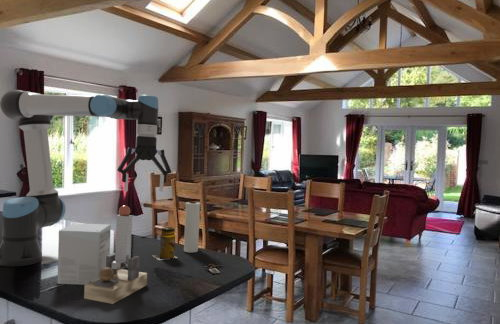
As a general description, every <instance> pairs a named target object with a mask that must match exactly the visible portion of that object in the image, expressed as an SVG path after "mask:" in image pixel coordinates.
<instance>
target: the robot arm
mask: <svg viewBox="0 0 500 324" xmlns="http://www.w3.org/2000/svg"><path fill="white" fill-rule="evenodd" d="M0 109H1V112H2V113H3V115H5V117H7V118H8V119H11V120H13V121H17V122H18V128H19V129H20V130H21V131H23V138H24V146H25V156H26V165H27V173H28V174H27V175H28V183H29V184H28V185H29V191H28V192H27V194H26V196H20V197H14V198H9V199H7V200H6V201H5V202H4V203H3V205H2V211H1V216H2V219H1V222H2V224H1V225H2V226H1V228H2V229H1V231H2V233H1V236H2V237H1V243H0V266H1V267H10V268H11V267H12V268H13V267H25V266H30V265H31V266H32V265H34V264H37V263H38V264H39V263H40V262H42V260H43V253H42V250H41V247H40V244H39V241H38V232H39V231H38V229H43V228H46V227H52V226H53V225H55V224H57V223H59V222H61V220H62V219H63V218H64V216H65V213H66V204H65V202H64V200H63V199H62V198H61V197H60V196H59V191H58V190H57V189H55V188H54V181H53V172H52V171H53V170H52V162H51V153H50V152H51V150H50V142H49V133H48V129H49V128H50V127H51V126H52V122H51V121H53V119H54V117H55V116H62V117H63V116H65V117H95V118H96V117H97V118H99V117H100V118H101V117H102V118H110V119H115V120H134V121H136V123H137V125H136V135H137V136H136V141H135V143H136V145H135V148H133V147H127V148H126V154H125V155H124V157H123V159H122V161H121V163H120V164H119V166H118V168H117V172H119V173H121V175H122V176H121V182H122V183H124V188H123V189H124V190H123V191H124V192H128V191H129V189H128V188H129V173H128V172H129V171H130V170H131V169H132V168H133V167H134V165H136V164H137V162H138V161H140V160H141V161H152V162H153V164H155V166H156V167H157V168H158V170H159V171H160V172H161V174H159V192H164V184H165V183H167V175H168V174H172V170H171V167H170V165H169V163H168V160H167V157H166V156H165V149H162V148H161V149H157V137H156V136H157V135H158V118H159V98H158V97H157V96H155V95H149V94H140V95H139V96H138V99H137V100H135V99H134V100H133V99H123V98H119V97H115V96H111V95H108V94H96V95H94V94H93V95H90V94H89V95H88V94H87V95H85V94H83V95H82V94H41V93H38V92H31V91H29V90H28V91H26V90H20V89H11V90H9V91H6V92H5V93H4V94H2V97H1V98H0ZM134 153H135V155H136V156H135V157H134V158H133V159H131V161H130V162H129V163H128V161H129V159H130V158H131V156H132V154H134ZM157 154H158V156H159V157H160V159H161V161H162V163H160V161H159V160H158V158H157V157H156V155H157ZM127 163H128V164H127ZM126 164H127V165H126ZM162 164H163V165H162ZM163 166H164V167H163ZM124 167H125V168H124Z"/></svg>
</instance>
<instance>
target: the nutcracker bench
mask: <svg viewBox="0 0 500 324" xmlns="http://www.w3.org/2000/svg"><path fill="white" fill-rule="evenodd" d="M113 261H115V252H113V253H111V254H110V255H108V256H106V267H105V268H103V269H102V270H101V271H100V279H97V280H95V281H93V282H91V283H88V284H86V285H83V286H84V293H83V298H84V300H91V301H95V302H100V303H106V304H111V305H113V304H115V303H117V302H119V301H121V300H123V299H124V298H126V297H128V296H130V295H132V294H133V293H136V292H137V291H139V290H140V289H142V288H144V287H146V286H147V285H148V273H147V272H142V271H140V256H138V255H135V256H132V257H131V258H130V259H128V267H127V269H125V268H124V269H121V270H118V269H112V262H113Z"/></svg>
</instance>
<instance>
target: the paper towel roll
mask: <svg viewBox="0 0 500 324" xmlns="http://www.w3.org/2000/svg"><path fill="white" fill-rule="evenodd" d="M200 209H201V202H197V201H188V202H185V215H184V237H183V238H184V239H183V240H184V241H183V252H185V253H189V254H190V253H197V252H198V251H199V242H200V241H199V234H200V215H201V214H200V211H201V210H200Z"/></svg>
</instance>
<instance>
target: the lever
mask: <svg viewBox="0 0 500 324" xmlns="http://www.w3.org/2000/svg"><path fill="white" fill-rule="evenodd" d="M130 213H131V208H130V207H129V206H128V205H122V206H120V207H119V209H118V214H116V224H115V229H116V230H115V251H114V253H115V261H113V262H112V269H117V271H118V270H121V269H124V270H125V268H128V259H130V258H132V257H131V256H132V255H131V254H132V253H131V252H132V230H133V229H132V228H133V215H130Z"/></svg>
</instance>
